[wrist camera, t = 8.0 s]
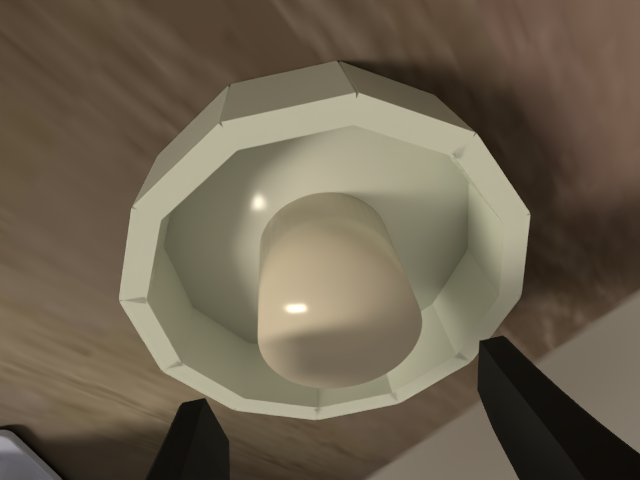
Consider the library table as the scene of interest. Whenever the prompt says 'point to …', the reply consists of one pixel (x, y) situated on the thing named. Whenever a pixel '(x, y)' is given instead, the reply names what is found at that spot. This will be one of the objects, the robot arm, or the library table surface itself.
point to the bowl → (305, 179)
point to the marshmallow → (333, 294)
